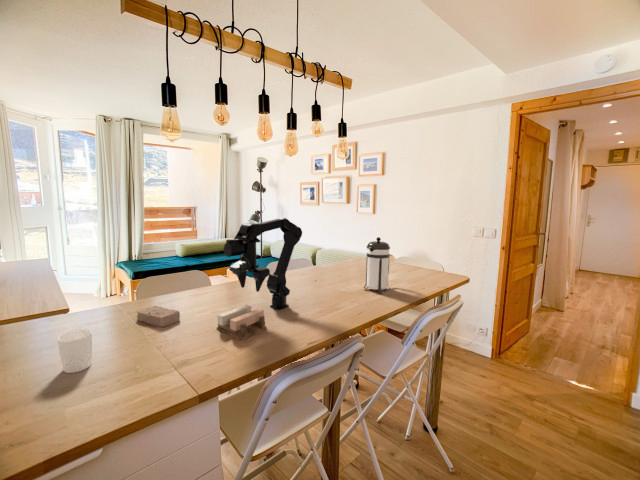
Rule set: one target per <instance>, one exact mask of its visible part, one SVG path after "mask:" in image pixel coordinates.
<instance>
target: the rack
mask: <svg viewBox="0 0 640 480" xmlns="http://www.w3.org/2000/svg"><path fill="white" fill-rule="evenodd" d="M247 313H249V312H247ZM231 319H232V318H231ZM231 319H229V320H228V324H226V325H223V326H222V325H220V324H218V323H217V327H216V330H217V331H221V333H224V334H227V335H230V336H232V337H234V338H236V339H239V340H240V341H244V340H245V339H248V338H251V337H252V336H255V335H256V334H258V333H261V332H263V331H265V330H267V326H266V321H265V315H264V316H261V317H260V321H258V322H256V323H253V324H251V325H249V326H246V324H245V323H244V324H242V325H241V329H239V330H237V331H234V330H232V329H230V320H231Z"/></svg>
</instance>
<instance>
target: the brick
mask: <svg viewBox="0 0 640 480" xmlns="http://www.w3.org/2000/svg"><path fill="white" fill-rule="evenodd" d="M136 314H137V315H136V318H137V321H138V322H139V321H140V322H142V321H144V322H143V323H145V322H146V324H149V325H153V326H156V327H161V328H163V327H167V326H170V325H172V324H175V323H177V322H179V321H180V319H181V318H180V317H181V313H180V311H179V310H178V309H170V308H169V309H168V308H166V307H162V306H159V305H158V306H157V305H150V306H147V307H144V308H141V309H140V310H137V313H136Z"/></svg>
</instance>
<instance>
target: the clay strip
mask: <svg viewBox="0 0 640 480" xmlns="http://www.w3.org/2000/svg"><path fill="white" fill-rule="evenodd" d="M261 316H264V317H265V310H264V309H260V308H256V309H254V310H251V312H249V313H246V314H244V315H241V316H238V317H236V318H233V319H231V320H230V329H232V330H234V331H237V330H239V329H241V325H242V324H244V323H245V324H246V326H249V325H251V324H253V323H256V322H258V321H260V317H261Z"/></svg>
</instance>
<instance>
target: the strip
mask: <svg viewBox="0 0 640 480" xmlns="http://www.w3.org/2000/svg"><path fill="white" fill-rule="evenodd" d="M251 311H252V306H251V305H248V304H244V305H241V306H239V307H237V308H234V309H230V310H227V311H224V312H221V313H219V314H217V315H216V316H217V325H218V324H220V325H222V326H223V325H226V324H228V320H229V319H231V318H232V319H233V318H236V317H238V316H241V315H244V314H246V313H247V312H251Z"/></svg>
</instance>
